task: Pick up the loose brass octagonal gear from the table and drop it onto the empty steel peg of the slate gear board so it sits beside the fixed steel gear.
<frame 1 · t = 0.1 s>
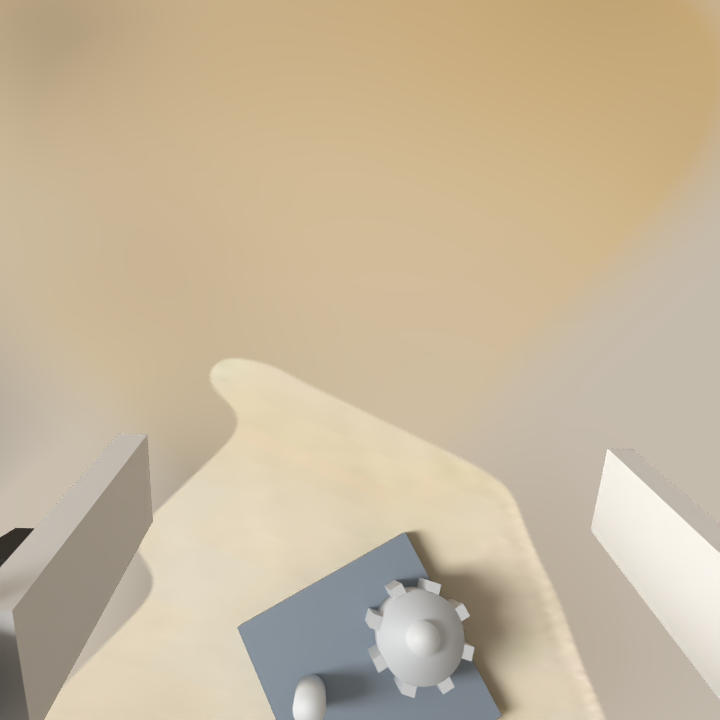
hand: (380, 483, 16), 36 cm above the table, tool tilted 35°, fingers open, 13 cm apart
gear board: (367, 667, 46), on the table
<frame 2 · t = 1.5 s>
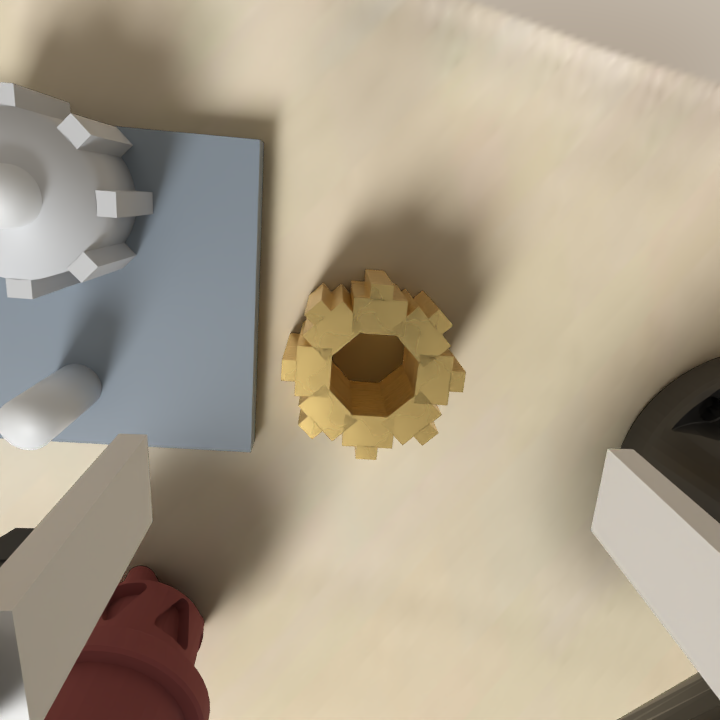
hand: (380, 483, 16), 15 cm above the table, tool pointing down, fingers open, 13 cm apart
brass gear: (367, 347, 30), on the table
gear board: (104, 291, 28), on the table
mechanical component: (154, 606, 35), on the table
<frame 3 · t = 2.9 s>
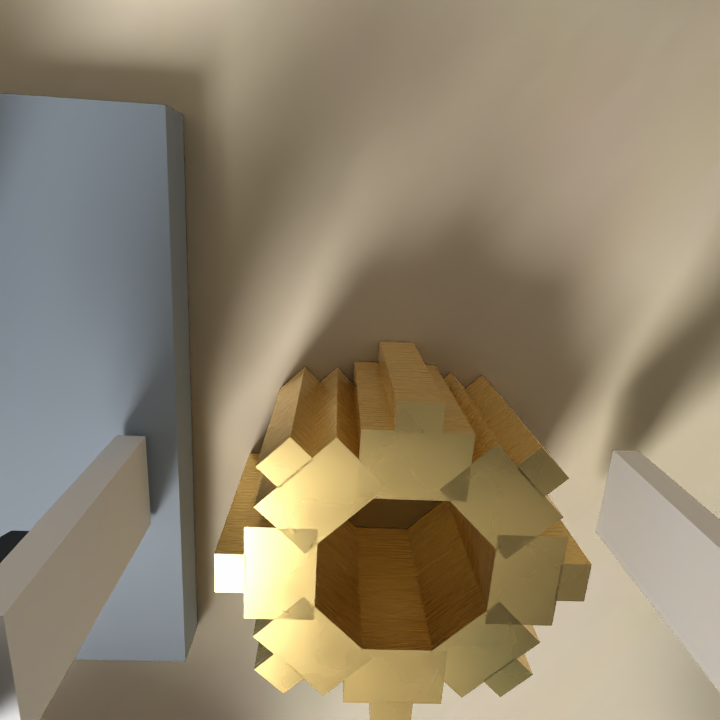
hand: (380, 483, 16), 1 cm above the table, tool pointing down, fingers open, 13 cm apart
brass gear: (386, 472, 17), on the table
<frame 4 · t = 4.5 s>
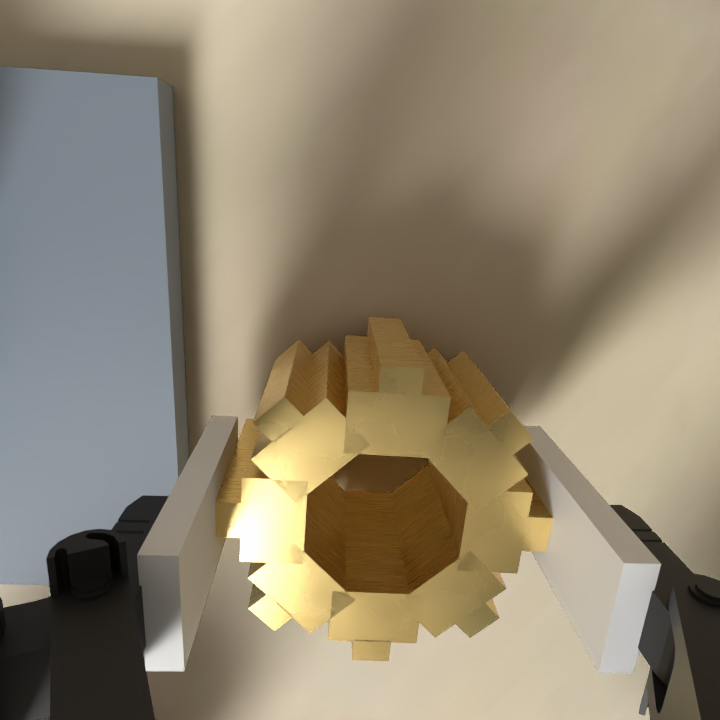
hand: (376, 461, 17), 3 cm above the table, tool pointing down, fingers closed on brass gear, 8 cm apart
brass gear: (372, 439, 18), point 1 cm above the table, touching gripper
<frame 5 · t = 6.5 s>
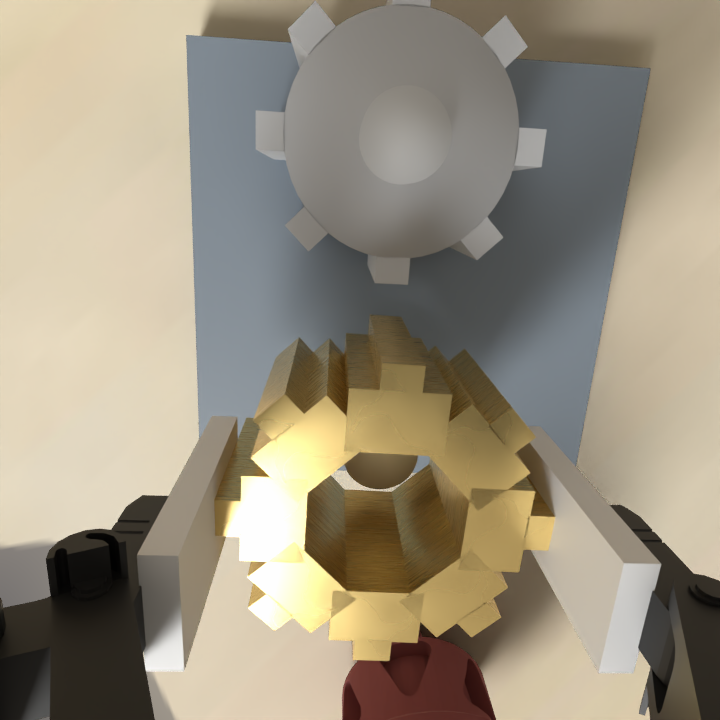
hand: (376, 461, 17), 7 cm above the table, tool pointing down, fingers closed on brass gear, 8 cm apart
brass gear: (373, 438, 18), point 6 cm above the table, touching gripper
gear board: (400, 279, 22), on the table
mechanical component: (409, 663, 28), on the table
when the fingers open (3 cm above the table, at t = 8.3 s): brass gear stays where it is, resting on gear board.
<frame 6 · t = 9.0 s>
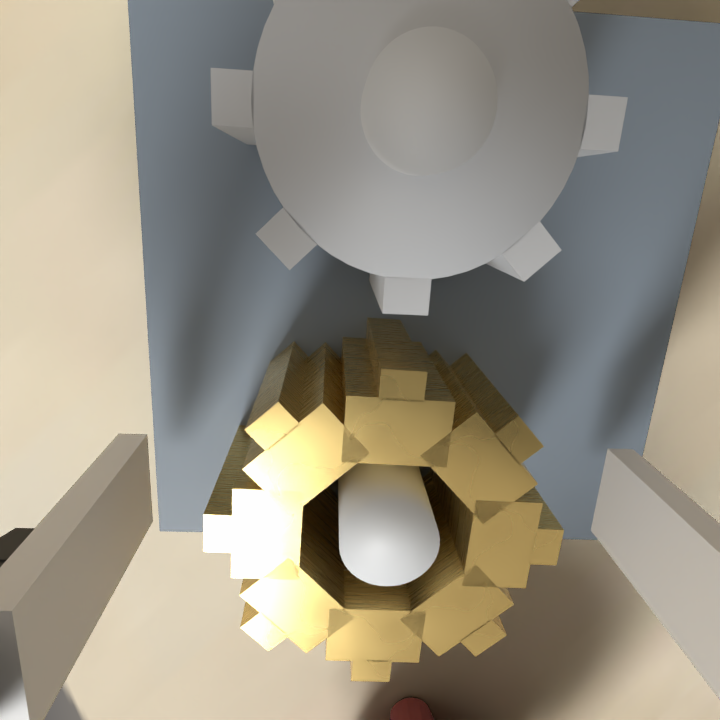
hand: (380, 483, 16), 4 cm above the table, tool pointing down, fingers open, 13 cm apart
brass gear: (371, 446, 18), point 1 cm above the table, touching gear board
gear board: (410, 297, 18), on the table
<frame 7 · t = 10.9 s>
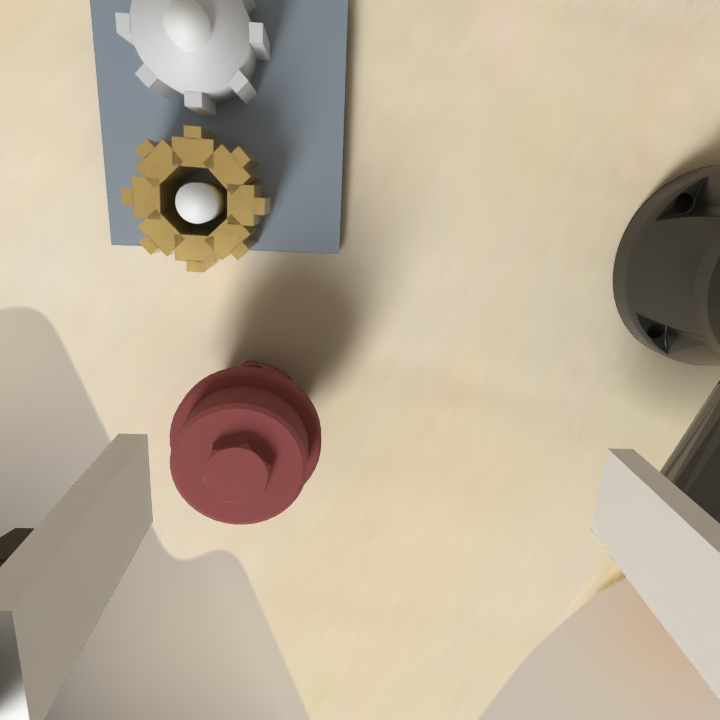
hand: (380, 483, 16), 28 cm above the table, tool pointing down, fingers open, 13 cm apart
brass gear: (209, 199, 38), point 1 cm above the table, touching gear board
gear board: (227, 130, 38), on the table
mechanical component: (259, 397, 44), on the table
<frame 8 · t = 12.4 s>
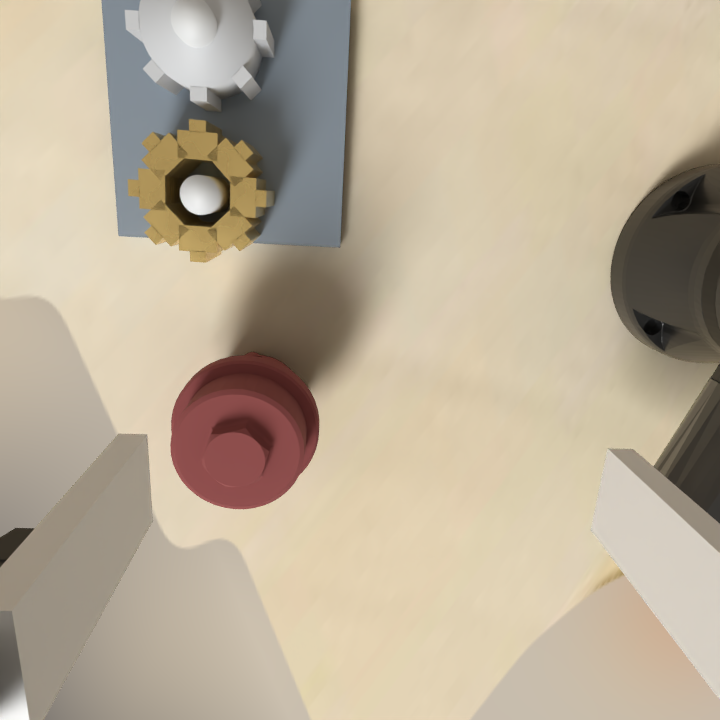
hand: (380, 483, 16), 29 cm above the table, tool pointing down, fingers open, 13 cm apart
brass gear: (214, 193, 39), point 1 cm above the table, touching gear board
gear board: (232, 126, 39), on the table
mechanical component: (260, 388, 45), on the table
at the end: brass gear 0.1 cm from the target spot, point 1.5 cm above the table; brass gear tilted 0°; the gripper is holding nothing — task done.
